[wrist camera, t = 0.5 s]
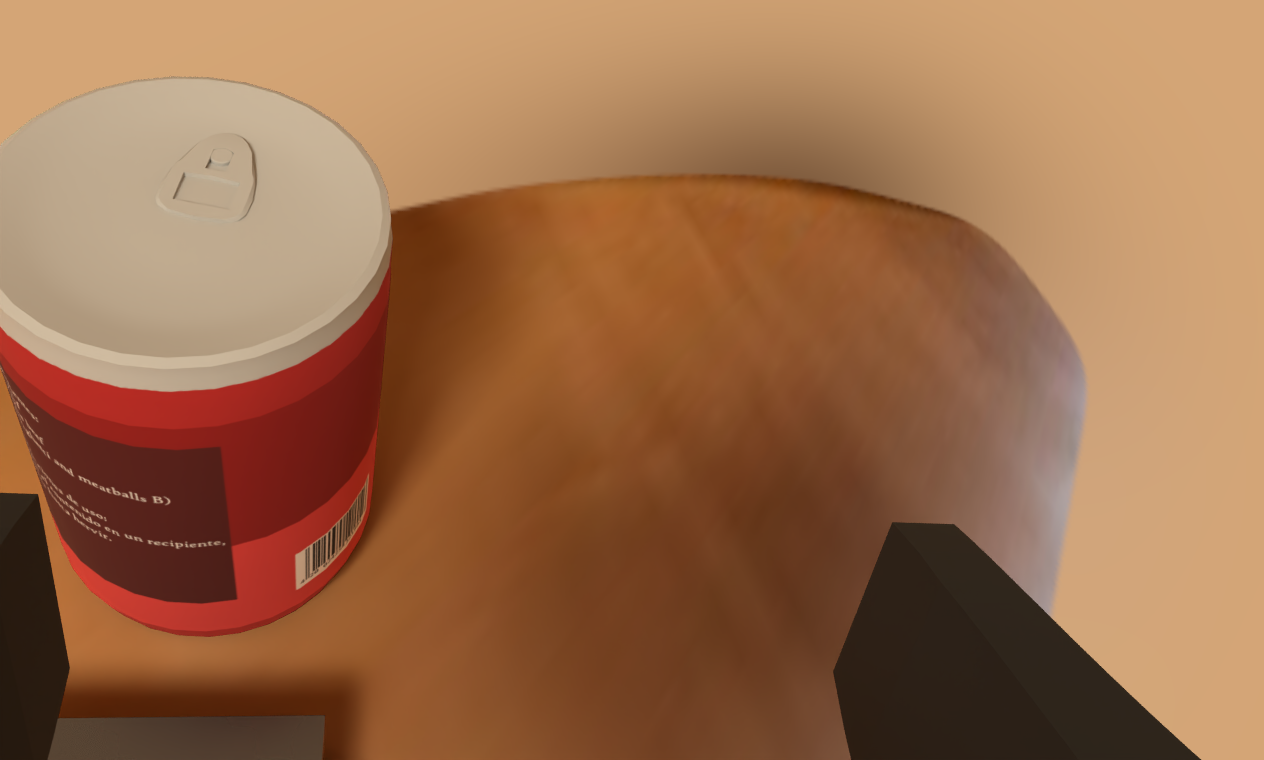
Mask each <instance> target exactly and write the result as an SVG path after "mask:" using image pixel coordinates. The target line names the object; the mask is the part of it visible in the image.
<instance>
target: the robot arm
mask: <svg viewBox="0 0 1264 760" xmlns="http://www.w3.org/2000/svg"><path fill="white" fill-rule="evenodd" d="M69 669H70V667H69V661H68V656H67V650H66V645H65V639H64V634H63V629H62V623H61V618H60V612H59V607H58V601H57V596H56V590H55V585H54V579H53V574H52V568H51V563H50V557H49V552H48V546H47V541H46V535H45V530H44V524H43V519H42V513H41V508H40V502H39V497H38V494H18V493H0V760H48V756H49V752H50V749H51V745H52V741H53V737H54V733H55V729H56V724H57V720H58V716H59V712H60V707H61V703H62V699H63V695H64V691H65V686H66V682H67V678H68V674H69ZM833 673H834V678H835V683H836V688H837V694H838V699H839V704H840V709H841V714H842V719H843V725H844V730H845V734H846V739H847V743H848V747H849V752H850V756H851V760H1201V759H1200V758H1199V757H1197V756H1196V755H1195V754H1194V753H1193V752H1192V751H1191V750H1190V749H1188V748H1187V747H1186V746H1185V745H1184V744H1183V743H1182V742H1181V741H1180V740H1179V739H1178V738H1176V737H1175V736H1174V735H1173V734H1172V733H1171V732H1170V731H1169V730H1168V729H1167V728H1165V727H1164V726H1163V725H1162V724H1161V723H1160V722H1159V721H1158V720H1157V719H1156V718H1155V717H1153V716H1152V715H1151V714H1150V713H1149V712H1148V711H1147V710H1146V709H1145V708H1144V707H1143V706H1141V704H1139V702H1138V701H1136V700H1135V699H1134V698H1133V697H1132V696H1131V695H1130V694H1129V693H1128V692H1127V691H1126V690H1125V689H1124V688H1123V687H1122V686H1121V685H1120V684H1119V683H1118V682H1116V681H1115V680H1114V679H1113V678H1112V677H1111V676H1110V675H1109V674H1108V673H1107V672H1106V671H1105V670H1104V669H1103V668H1102V667H1101V666H1100V665H1099V664H1098V663H1097V662H1096V661H1095V660H1094V659H1093V658H1092V657H1091V656H1090V655H1088V654H1087V653H1086V652H1085V651H1084V650H1083V649H1082V648H1081V647H1080V646H1079V645H1078V644H1077V643H1076V642H1075V641H1074V640H1073V639H1072V638H1071V637H1070V636H1069V635H1068V634H1067V633H1066V632H1065V631H1064V630H1063V629H1062V628H1061V627H1060V626H1059V625H1058V624H1057V623H1056V622H1055V621H1054V620H1053V619H1052V618H1051V617H1050V616H1049V615H1048V614H1047V613H1046V612H1045V611H1044V610H1043V609H1042V608H1041V607H1040V606H1039V605H1038V604H1037V603H1036V602H1035V601H1034V600H1033V599H1032V598H1031V597H1030V596H1029V595H1028V594H1027V593H1025V592H1024V591H1023V590H1022V589H1021V588H1020V587H1019V586H1018V585H1017V584H1016V583H1015V582H1014V581H1013V580H1012V579H1011V578H1010V577H1009V576H1008V575H1007V574H1006V573H1005V572H1004V571H1003V570H1002V569H1001V568H1000V567H999V566H998V565H997V564H996V563H995V562H994V561H993V560H992V559H991V558H990V557H989V556H988V555H987V554H986V553H985V552H984V551H982V550H981V549H980V548H979V547H978V546H977V545H976V544H975V543H974V542H973V541H972V540H971V539H970V538H969V537H967V536H966V535H965V534H964V533H963V532H962V531H961V530H960V529H959V528H958V527H956V526H955V525H954V524H927V523H897V522H892V525H891V527H890V530H889V532H888V535H887V537H886V540H885V542H884V545H883V547H882V550H881V552H880V555H879V557H878V560H877V562H876V565H875V567H874V570H873V573H872V575H871V578H870V580H869V583H868V585H867V588H866V590H865V593H864V595H863V598H862V600H861V603H860V605H859V608H858V610H857V613H856V615H855V618H854V621H853V623H852V626H851V628H850V631H849V633H848V636H847V638H846V641H845V643H844V646H843V648H842V651H841V653H840V656H839V658H838V661H837V663H836V666H835V669H834V671H833Z"/></svg>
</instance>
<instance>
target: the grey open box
mask: <svg viewBox="0 0 1264 760" xmlns="http://www.w3.org/2000/svg"><path fill="white" fill-rule="evenodd" d="M324 735H325V715H308V716H220V717H132V718H58V720H57V724H56V729H55V733H54V737H53V741H52V745H51V749H50V752H49V756H48V760H323V758H324Z"/></svg>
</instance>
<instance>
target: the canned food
mask: <svg viewBox="0 0 1264 760" xmlns="http://www.w3.org/2000/svg"><path fill="white" fill-rule="evenodd" d="M392 242H393V236H392V229H391V213H390V206H389V199H388V192H387V189H386V187H385V184H384V182H383V180H382V177H381V175H380V172H379V170H378V168H377V166H376V164H375V163H374V162H373V160H372V159H371V158H370V156H369V155H368V153H367V152H366V151H365V149H364V148H363V146H362V145H361V144H360V143H359V142H358V141H357V140H356V139H355V138H354V137H353V136H352V135H351V134H350V133H348V132H347V131H346V130H345V129H344V128H343V127H342V126H341V125H340V124H339V123H337V122H336V121H334V120H332V119H331V118H329V117H328V116H326V115H325V114H323V113H322V112H320V111H318V110H317V109H315V108H314V107H312V106H310V105H308V104H305V103H303V102H301V101H298V100H296V99H294V98H292V97H289V96H287V95H285V94H283V93H280V92H277V91H273V90H270V89H266V88H262V87H259V86H256V85H252V84H248V83H244V82H236V81H230V80H223V79H217V78H209V77H164V78H154V79H144V80H134V81H130V82H125V83H121V84H117V85H112V86H108V87H103V88H99V89H96V90H93V91H90V92H88V93H85V94H82V95H80V96H77V97H74V98H72V99H69V100H66V101H64V102H61V103H60V104H58V105H56V106H55V107H52V108H51V109H49V110H47V111H45V112H43V113H42V114H40V115H38V116H36V117H35V118H33V119H31V120H29V121H28V122H27V123H26V124H25V125H24V126H22V127H21V128H20V129H18V130H17V131H16V132H15V133H13V134H12V135H11V136H10V137H8V138H7V139H6V140H5V141H4V142H3V143H2V144H1V145H0V368H1V371H2V373H3V376H4V379H5V382H6V385H7V388H8V391H9V394H10V396H11V399H12V402H13V405H14V408H15V411H16V414H17V417H18V419H19V422H20V425H21V428H22V431H23V434H24V437H25V439H26V442H27V445H28V448H29V451H30V454H31V457H32V460H33V462H34V465H35V468H36V471H37V474H38V477H39V480H40V483H41V485H42V488H43V491H44V494H45V497H46V500H47V503H48V506H49V508H50V511H51V514H52V517H53V520H54V523H55V526H56V529H57V531H58V534H59V537H60V540H61V543H62V545H63V548H64V550H65V552H66V554H67V557H68V559H69V561H70V563H71V566H72V568H73V569H74V571H75V572H76V573H77V574H78V576H79V577H80V578H81V579H82V581H83V582H84V583H85V584H86V586H87V587H88V588H89V590H90V591H92V592H93V593H94V594H95V595H97V596H98V597H99V598H101V599H102V600H103V601H104V602H106V603H107V604H108V605H109V606H111V607H112V608H113V609H115V610H116V611H118V612H119V613H121V614H123V615H124V616H126V617H128V618H130V619H132V620H134V621H136V622H139V623H141V624H143V625H145V626H147V627H149V628H152V629H156V630H160V631H164V632H168V633H172V634H176V635H185V636H204V637H211V636H219V635H227V634H235V633H241V632H244V631H248V630H251V629H254V628H257V627H261V626H264V625H267V624H270V623H272V622H274V621H276V620H278V619H280V618H282V617H284V616H286V615H288V614H290V613H292V612H294V611H295V610H297V609H298V608H300V607H301V606H302V605H304V604H305V603H306V602H308V601H309V600H310V599H312V598H313V597H314V596H316V595H317V594H318V593H319V592H320V591H321V590H322V589H323V588H324V587H325V586H326V585H327V584H328V582H329V581H330V580H331V579H332V578H333V577H334V576H335V575H336V574H337V573H338V571H339V570H340V569H341V568H342V566H343V565H344V564H345V562H346V561H347V559H348V557H349V556H350V554H351V553H352V551H353V549H354V548H355V546H356V544H357V543H358V541H359V540H360V538H361V535H362V532H363V529H364V527H365V524H366V521H367V518H368V515H369V511H370V503H371V496H372V487H373V476H374V464H375V453H376V441H377V430H378V418H379V407H380V395H381V384H382V372H383V361H384V349H385V338H386V326H387V315H388V303H389V292H390V280H391V255H392Z"/></svg>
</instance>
